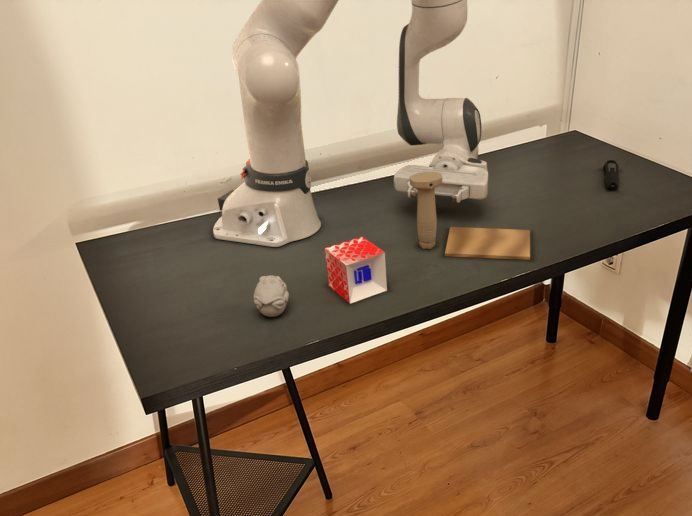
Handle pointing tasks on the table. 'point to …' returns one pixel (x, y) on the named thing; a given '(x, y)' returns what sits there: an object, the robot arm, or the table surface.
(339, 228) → the table surface
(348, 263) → the red and white cube
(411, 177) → the handle
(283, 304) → the frog figurine
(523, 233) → the oak board
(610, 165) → the electric trimmer
